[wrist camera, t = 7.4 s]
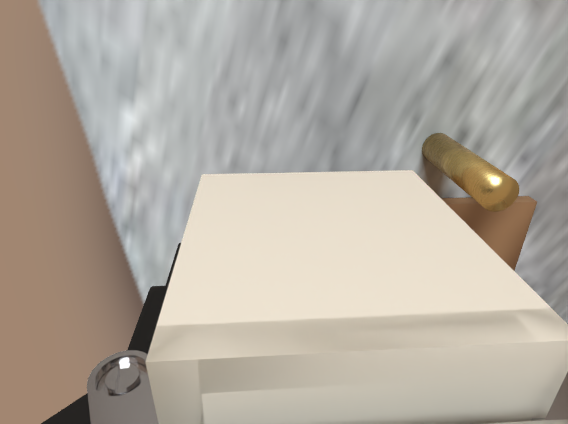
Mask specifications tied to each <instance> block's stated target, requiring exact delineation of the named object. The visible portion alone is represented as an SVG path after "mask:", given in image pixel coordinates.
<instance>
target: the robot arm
mask: <svg viewBox="0 0 568 424" xmlns="http://www.w3.org/2000/svg"><path fill="white" fill-rule="evenodd" d="M180 246H181V243H179V245H178V248H177V251H176V254H175V257H174V260H173V264H172V267H171V270H170V273H169V277H168V280H167V283H166V286H152V287H151V288H150V290H149V292H148V295H147V298H146V301H145V303H144V306H143V309H142V312H141V314H140V317H139V320H138V323H137V325H136V328H135V331H134V334H133V336H132V339H131V342H130V344H129V347H128V350H127V351H123V352H118V353H116V354H114V355H111V356H109V357H107V358H106V359H104V360H103V361H101V362H100V363H99V364H98V365H97V366H96V367H95V368H94V369H93V370H92V372H91V374H90V376H89V378H88V382H87V392H88V393H87V394H86V395H84V396H82V397H81V398H79V399H78V400H76V401H75V402H73V403H72V404H70V405H69V406H67V407H66V408H65V409H63V410H61V411H60V412H58V413H57V414H55V415H54V416H52V417H51V418H49V419H48V420H46V421H44V422H43V423H41V424H159V423H158V419H157V414H156V409H155V405H154V400H153V395H152V391H151V386H150V381H149V377H148V372H147V367H146V359H147V355H148V352H149V349H150V345H151V342H152V339H153V335H154V332H155V329H156V325H157V322H158V319H159V315H160V312H161V309H162V306H163V302H164V299H165V296H166V292H167V289H168V286H169V282H170V279H171V276H172V272H173V269H174V266H175V262H176V259H177V256H178V252H179V249H180ZM489 424H568V372H567V374H566V376H565V378H564V380H563V382H562V384H561V386H560V389H559V391H558V393H557V395H556V397H555V399H554V401H553V403H552V405H551V407H550V410H549V412H548V414H547V416H546V418H534V419H531V421H522V422H506V423H489Z"/></svg>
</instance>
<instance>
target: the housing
mask: <svg viewBox="0 0 568 424" xmlns="http://www.w3.org/2000/svg"><path fill="white" fill-rule="evenodd" d="M146 367H147V372H148V377H149V381H150V386H151V391H152V395H153V400H154V405H155V409H156V414H157V419H158V423H159V424H489V423H506V422H522V421H531V419H534V418H546V416H547V414H548V412H549V410H550V407H551V405H552V403H553V401H554V399H555V397H556V395H557V393H558V391H559V389H560V386H561V384H562V382H563V380H564V378H565V376H566V374H567V372H568V324H567V323H566V322H565V321H564V320H563V319H562V318H561V317H560V316H559V315H558V314H557V313H556V312H555V311H554V310H553V309H552V308H551V307H550V306H549V305H548V304H547V303H546V302H545V301H544V300H543V299H542V298H541V297H540V296H539V295H538V294H537V293H536V292H535V291H534V290H533V289H532V288H531V287H530V286H529V285H528V284H527V283H526V282H524V281H523V280H522V279H521V278H520V277H519V276H518V275H517V274H516V273H515V272H514V271H513V270H512V269H511V268H510V267H509V266H508V265H507V264H506V263H505V262H504V261H503V260H502V259H501V258H500V257H499V256H498V255H497V254H496V253H495V252H494V251H493V250H492V249H491V248H490V247H489V246H488V245H487V244H486V243H485V242H484V241H483V240H482V239H481V238H480V237H479V236H478V235H477V234H476V233H475V232H474V231H473V230H472V229H471V228H470V227H469V226H468V225H467V224H466V223H465V222H464V221H463V220H462V219H461V218H460V217H459V216H458V215H457V214H456V213H455V212H454V211H453V210H452V209H451V208H450V207H449V206H448V205H447V204H446V203H445V202H444V201H443V200H442V199H441V198H440V197H439V196H438V195H437V194H436V193H435V192H434V191H433V190H432V189H431V188H430V187H429V186H428V185H427V184H426V183H425V182H424V181H423V180H422V179H421V178H420V177H419V176H418V175H417V174H416V173H415V172H414V171H413V170H404V171H353V172H302V173H252V174H202V176H201V179H200V183H199V186H198V189H197V193H196V196H195V199H194V202H193V206H192V209H191V212H190V216H189V219H188V222H187V226H186V229H185V232H184V236H183V239H182V242H181V246H180V249H179V252H178V256H177V259H176V262H175V266H174V269H173V272H172V276H171V279H170V282H169V286H168V289H167V292H166V296H165V299H164V302H163V306H162V309H161V312H160V315H159V319H158V322H157V325H156V329H155V332H154V335H153V339H152V342H151V345H150V349H149V352H148V355H147V359H146Z"/></svg>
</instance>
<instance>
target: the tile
mask: <svg viewBox="0 0 568 424" xmlns="http://www.w3.org/2000/svg"><path fill="white" fill-rule="evenodd" d="M441 199H442V200H443V201H444V202H445V203H446V204H447V205H448V206H449V207H450V208H451V209H452V210H453V211H454V212H455V213H456V214H457V215H458V216H459V217H460V218H461V219H462V220H463V221H464V222H465V223H466V224H467V225H468V226H469V227H470V228H471V229H472V230H473V231H474V232H475V233H476V234H477V235H478V236H479V237H480V238H481V239H482V240H483V241H484V242H485V243H486V244H487V245H488V246H489V247H490V248H491V249H492V250H493V251H494V252H495V253H496V254H497V255H498V256H499V257H500V258H501V259H502V260H503V261H504V262H505V263H506V264H507V265H508V266H509V267H510V268H511V269H512V270H513V271H514V270H515V267H516V264H517V261H518V258H519V255H520V252H521V249H522V246H523V243H524V240H525V237H526V234H527V231H528V228H529V225H530V222H531V219H532V216H533V213H534V210H535V207H536V204H537V201H535V200H534V199H532V198H531V197H529V196H518V197H517V199H516V200H515V201H514V203H513V204H512V205H511V206H509V207H508V208H506V209H504V210H502V211H498V212H492V211H488V210H486V209H485V208H484V207H483V206H482V205H480V204H479V203H478V202H477V201H476V200H475V199H473V198H441Z"/></svg>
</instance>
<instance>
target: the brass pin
mask: <svg viewBox="0 0 568 424" xmlns="http://www.w3.org/2000/svg"><path fill="white" fill-rule="evenodd" d="M422 152H423V155H424V156H425V157H426V158H427V159H428V160H429V161H430V162H431V163H433V164H434V165H435V166H436V167H437V168H438V169H440V170H441V171H442V172H443V173H444V174H445V175H447V176H448V177H449V178H450V179H451V180H452V181H454V182H455V183H456V184H457V185H458V186H459V187H461V188H462V189H463V190H464V191H465V192H466V193H468V194H469V195H470V196H471V197H472V198H473V199H475V200H476V201H477V202H478V203H479V204H480V205H482V206H483V207H484V208H485V209H486V210H488V211H492V212H498V211H502V210H504V209H506V208H508V207H509V206H511V205H512V204H513V203H514V201H515V200H516V199H517V197H518V194H519V185H518V183H517V181H516V180H514V179H513V178H511V177H510V176H508V175H507V174H505V173H504V172H502V171H501V170H499V169H498V168H496V167H494V166H493V165H491V164H490V163H488V162H487V161H485V160H484V159H482V158H481V157H479V156H478V155H476V154H475V153H473V152H471V151H470V150H468V149H467V148H465V147H464V146H462V145H461V144H459V143H458V142H456V141H455V140H453V139H451V138H450V137H448V136H447V135H445V134H443V133H435V134H432V135H431V136H429V137H428V138H427V139H426V140H425V142H424V144H423V147H422Z"/></svg>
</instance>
